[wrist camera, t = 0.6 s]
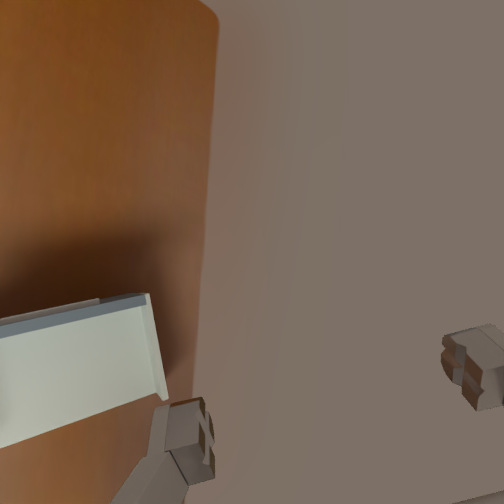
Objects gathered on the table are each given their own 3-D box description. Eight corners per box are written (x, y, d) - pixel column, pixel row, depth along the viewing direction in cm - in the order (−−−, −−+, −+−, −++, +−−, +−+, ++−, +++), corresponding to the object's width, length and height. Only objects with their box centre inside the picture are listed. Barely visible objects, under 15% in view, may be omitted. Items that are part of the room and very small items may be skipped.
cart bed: (159, 387, 63) (168, 398, 57) (-31, 454, 49) (-46, 478, 43) (141, 292, 63) (149, 293, 56) (-54, 334, 49) (-72, 341, 43)
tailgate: (133, 300, 60) (146, 304, 49) (-40, 339, 48) (-71, 355, 38) (131, 288, 60) (143, 289, 49) (-43, 323, 48) (-75, 334, 38)
